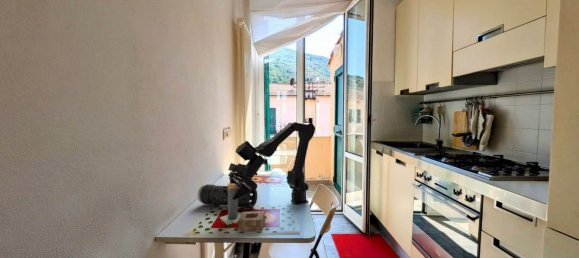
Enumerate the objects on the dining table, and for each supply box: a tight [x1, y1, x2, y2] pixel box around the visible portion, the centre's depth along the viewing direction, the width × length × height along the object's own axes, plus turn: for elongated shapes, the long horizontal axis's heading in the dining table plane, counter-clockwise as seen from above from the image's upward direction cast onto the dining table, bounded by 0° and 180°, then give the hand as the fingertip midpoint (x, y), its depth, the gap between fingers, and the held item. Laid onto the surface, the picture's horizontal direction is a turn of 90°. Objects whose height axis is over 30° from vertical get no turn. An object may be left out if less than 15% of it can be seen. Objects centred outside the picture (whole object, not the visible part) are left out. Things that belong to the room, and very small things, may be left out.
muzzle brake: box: [197, 184, 258, 210], centre depth 126 cm, size 10×28×10 cm, turn 71°
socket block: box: [237, 210, 266, 232], centre depth 102 cm, size 9×9×4 cm
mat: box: [219, 212, 242, 226], centre depth 110 cm, size 9×9×1 cm
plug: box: [227, 183, 239, 220], centre depth 110 cm, size 4×4×14 cm
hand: (229, 197), depth 109 cm, fingers open, 8 cm apart
